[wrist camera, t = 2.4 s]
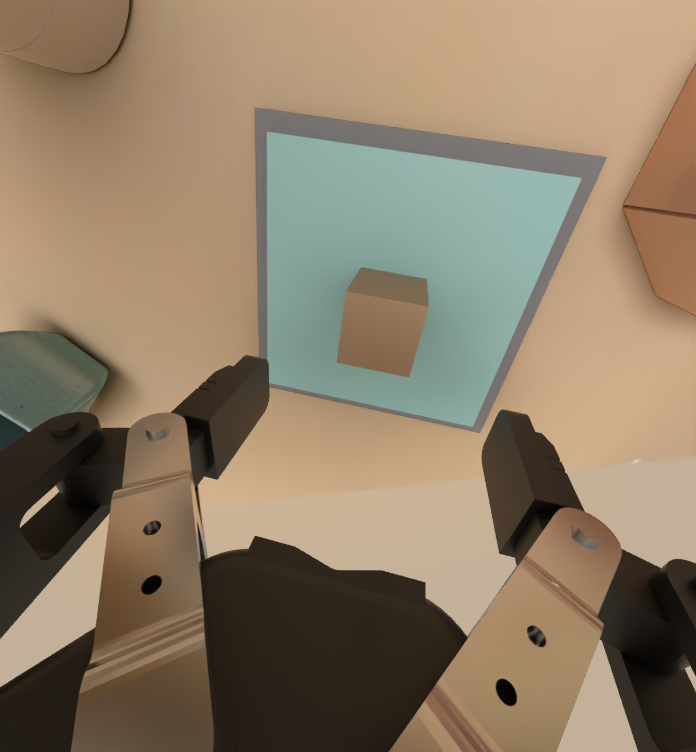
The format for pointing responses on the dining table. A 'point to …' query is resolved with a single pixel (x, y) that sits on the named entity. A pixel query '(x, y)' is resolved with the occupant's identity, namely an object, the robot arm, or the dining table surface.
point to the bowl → (669, 206)
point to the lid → (400, 271)
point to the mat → (437, 147)
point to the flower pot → (43, 381)
